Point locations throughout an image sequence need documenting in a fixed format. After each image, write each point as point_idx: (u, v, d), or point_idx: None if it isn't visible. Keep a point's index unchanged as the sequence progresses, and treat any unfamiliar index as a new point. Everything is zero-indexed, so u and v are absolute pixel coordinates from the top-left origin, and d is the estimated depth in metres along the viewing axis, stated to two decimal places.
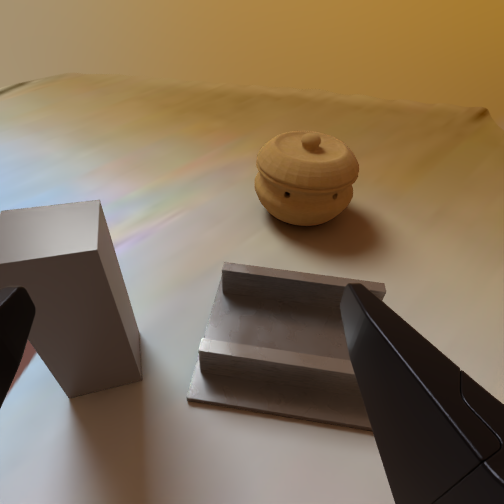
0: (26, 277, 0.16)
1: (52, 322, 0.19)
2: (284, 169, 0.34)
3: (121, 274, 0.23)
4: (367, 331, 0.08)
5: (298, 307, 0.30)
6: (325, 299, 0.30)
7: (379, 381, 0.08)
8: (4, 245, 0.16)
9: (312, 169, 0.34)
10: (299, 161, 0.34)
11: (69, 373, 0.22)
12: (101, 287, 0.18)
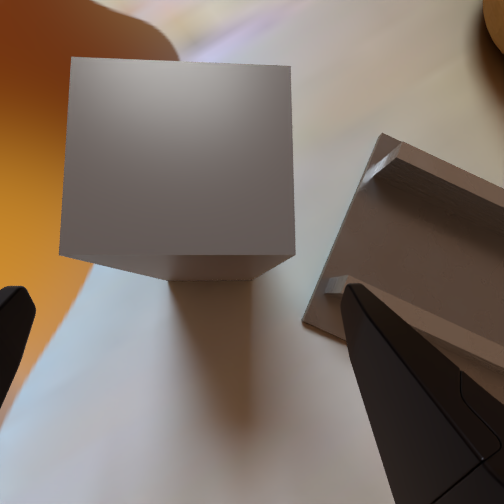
0: (147, 260, 0.08)
1: (171, 270, 0.12)
2: None
3: None
4: (367, 331, 0.08)
5: (471, 231, 0.21)
6: None
7: (379, 381, 0.08)
8: (99, 192, 0.07)
9: None
10: None
11: (175, 278, 0.17)
12: (263, 265, 0.10)
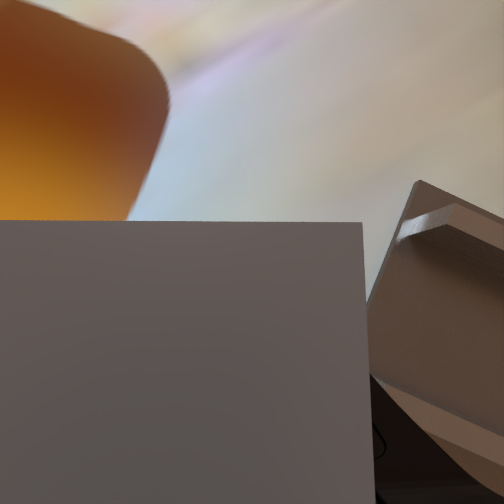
0: None
1: None
2: None
3: None
4: None
5: None
6: None
7: None
8: None
9: None
10: None
11: None
12: None
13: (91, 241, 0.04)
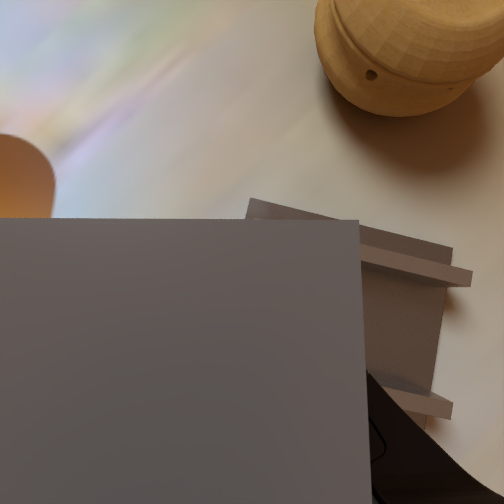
0: None
1: None
2: (383, 32, 0.17)
3: None
4: None
5: None
6: (384, 271, 0.22)
7: None
8: None
9: (439, 43, 0.17)
10: (419, 18, 0.17)
11: None
12: None
13: (88, 239, 0.04)
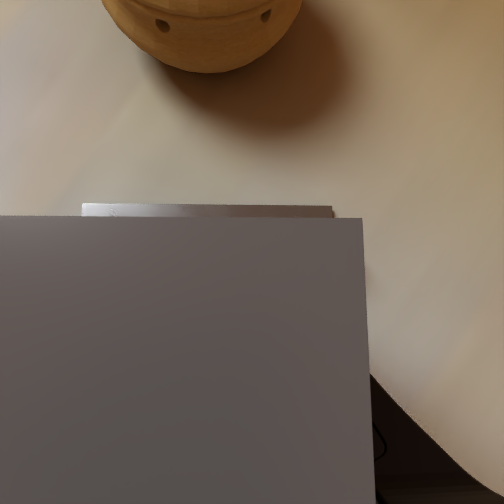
0: None
1: None
2: None
3: None
4: None
5: None
6: None
7: None
8: None
9: None
10: None
11: None
12: None
13: (91, 237, 0.04)
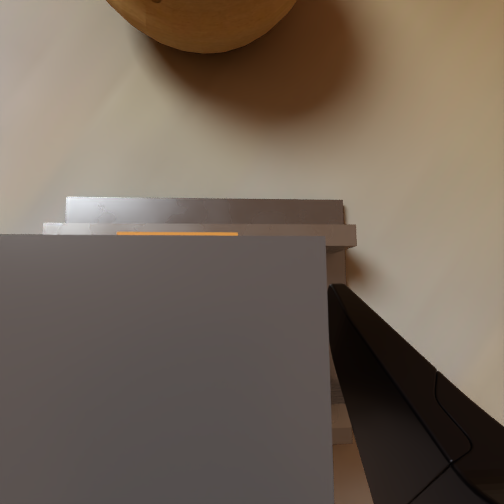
0: None
1: None
2: None
3: None
4: (347, 331, 0.08)
5: None
6: None
7: (358, 382, 0.08)
8: (23, 464, 0.05)
9: None
10: None
11: None
12: None
13: (131, 249, 0.05)
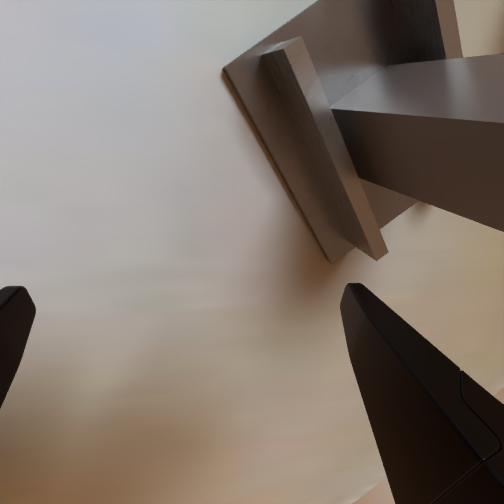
0: None
1: (444, 151, 0.14)
2: None
3: None
4: (367, 331, 0.08)
5: None
6: None
7: (379, 381, 0.08)
8: None
9: None
10: None
11: (363, 126, 0.18)
12: (500, 223, 0.14)
13: None
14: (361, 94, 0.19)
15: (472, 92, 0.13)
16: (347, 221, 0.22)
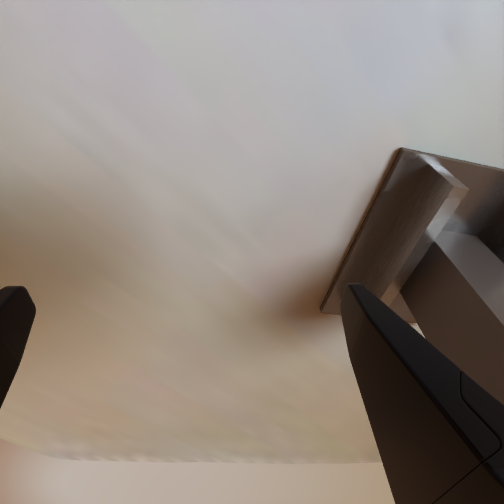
0: None
1: (477, 333, 0.19)
2: None
3: None
4: (367, 331, 0.08)
5: None
6: None
7: (379, 381, 0.08)
8: None
9: None
10: None
11: (437, 263, 0.22)
12: None
13: None
14: (451, 241, 0.23)
15: None
16: None
